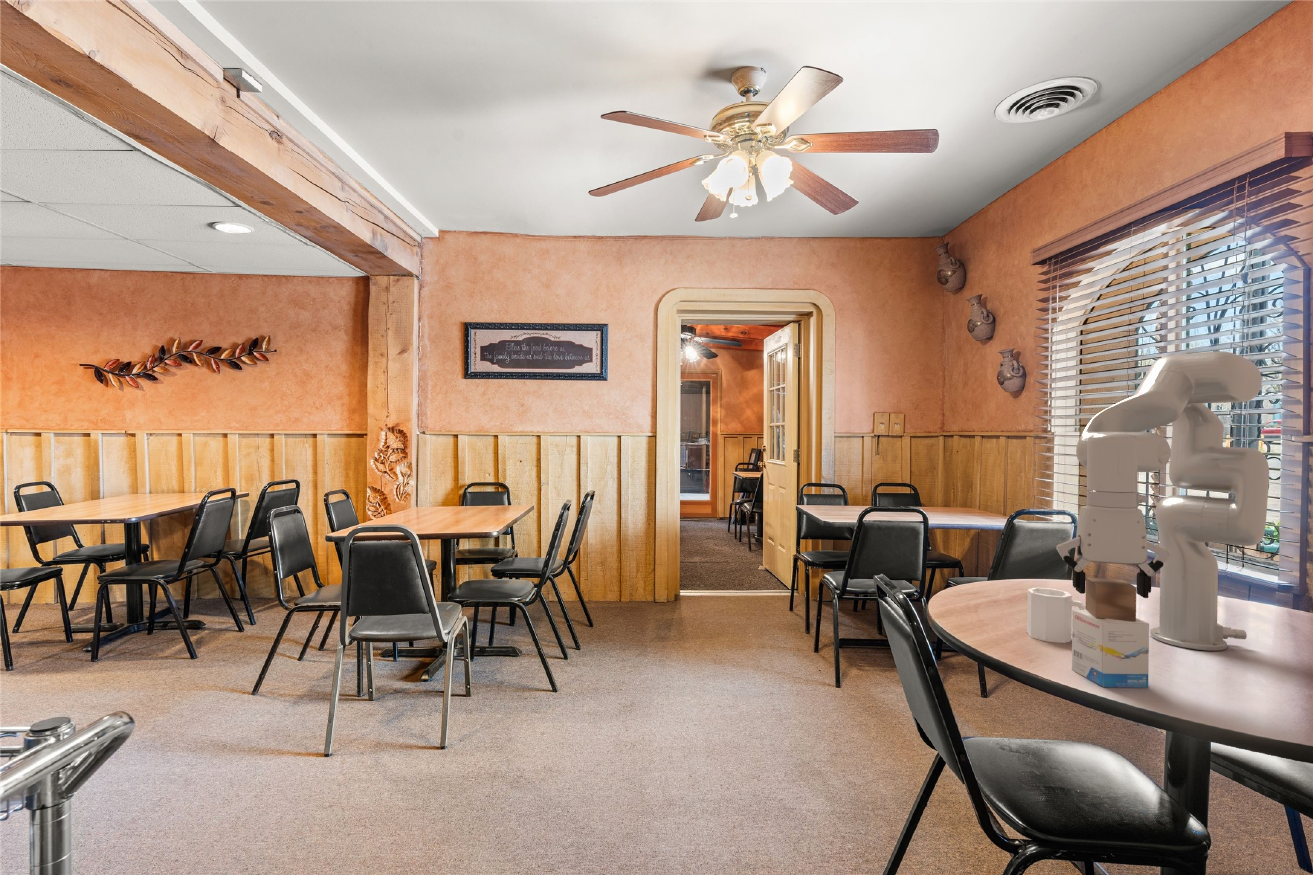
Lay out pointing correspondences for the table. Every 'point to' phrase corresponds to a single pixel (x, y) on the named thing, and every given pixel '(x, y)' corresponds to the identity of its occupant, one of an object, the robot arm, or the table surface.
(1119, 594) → the walnut cube
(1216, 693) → the table surface
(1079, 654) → the ink box
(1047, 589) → the mug
